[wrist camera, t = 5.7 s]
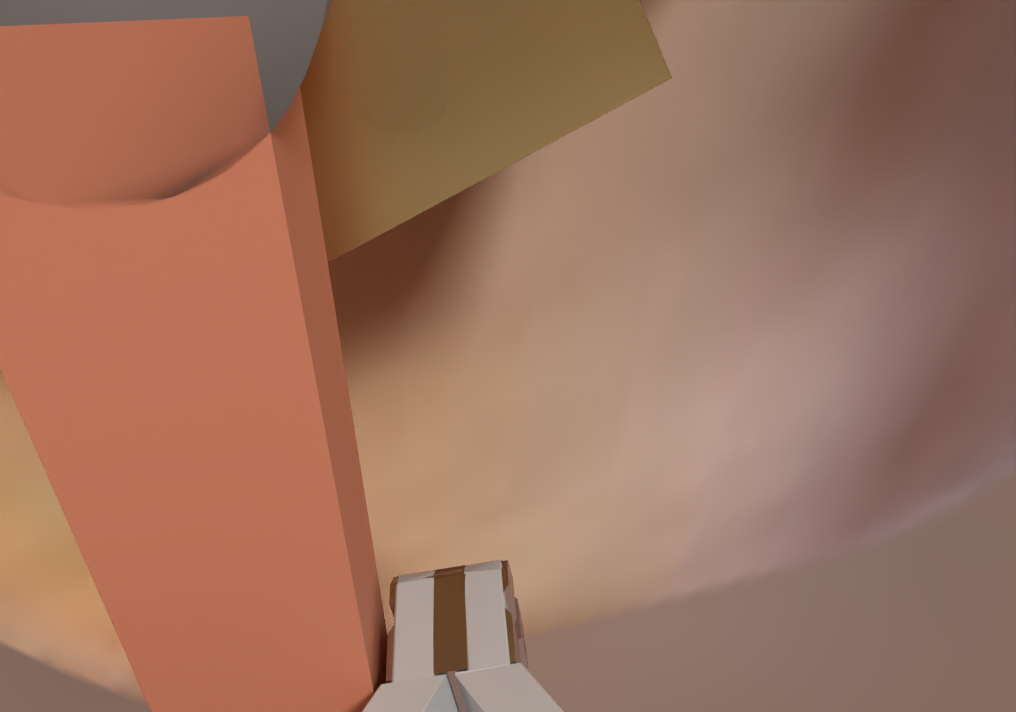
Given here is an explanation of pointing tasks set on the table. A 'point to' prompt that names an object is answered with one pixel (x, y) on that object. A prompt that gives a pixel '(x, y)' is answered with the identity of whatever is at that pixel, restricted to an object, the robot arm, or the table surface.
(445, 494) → the table surface
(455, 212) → the table surface
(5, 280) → the lever
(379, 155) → the valve
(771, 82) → the table surface
